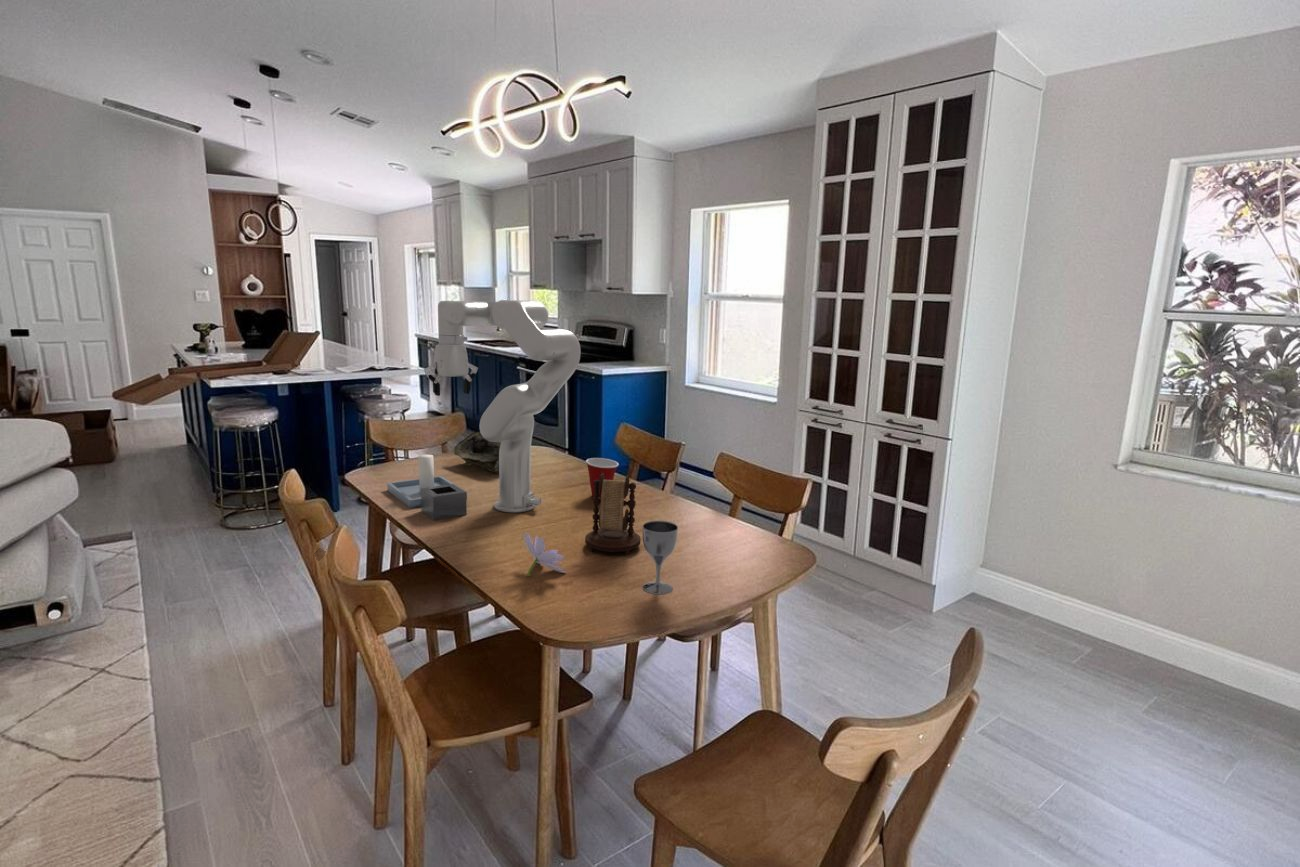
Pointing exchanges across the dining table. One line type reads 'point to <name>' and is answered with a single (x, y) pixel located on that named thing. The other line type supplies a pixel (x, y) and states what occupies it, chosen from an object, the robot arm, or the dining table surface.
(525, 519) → the dining table surface
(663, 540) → the wine glass
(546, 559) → the water lily
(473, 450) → the hollow geode rock
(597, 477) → the plastic cup
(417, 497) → the tray
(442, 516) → the socket block
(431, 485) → the dowel pin
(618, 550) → the scroll
